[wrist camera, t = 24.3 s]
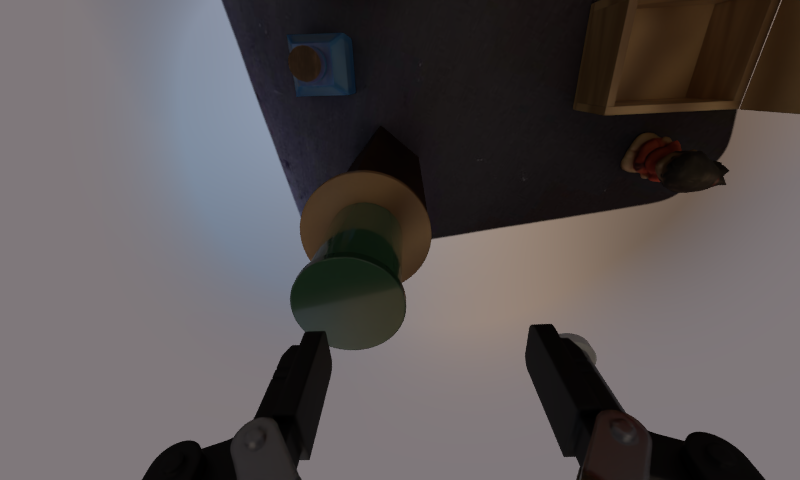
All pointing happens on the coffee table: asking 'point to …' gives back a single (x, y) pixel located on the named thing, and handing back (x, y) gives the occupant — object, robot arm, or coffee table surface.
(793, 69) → the lid
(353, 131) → the coffee table surface
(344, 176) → the tall pedestal column
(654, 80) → the chest
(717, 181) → the figurine
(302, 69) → the perfume bottle
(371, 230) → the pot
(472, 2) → the coffee table surface
